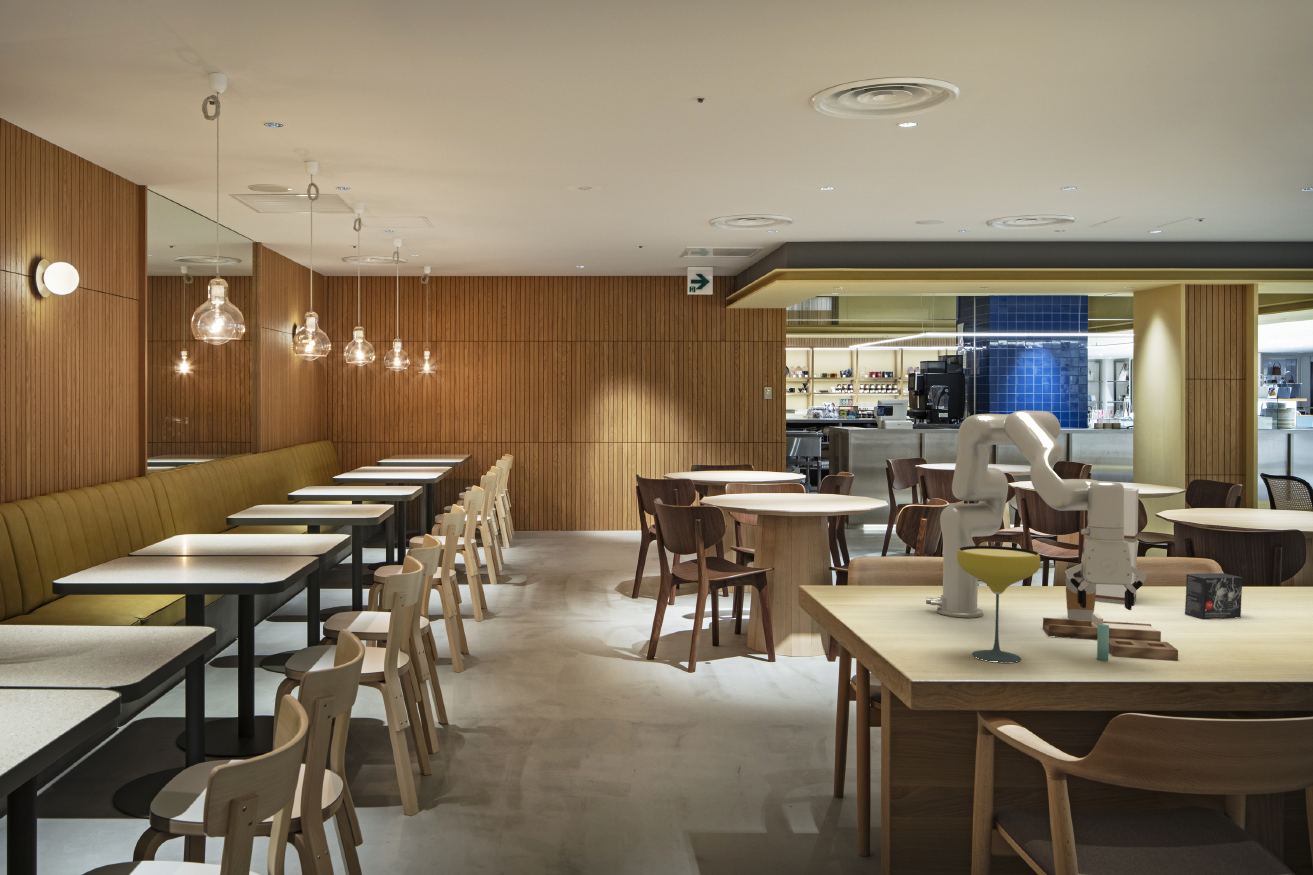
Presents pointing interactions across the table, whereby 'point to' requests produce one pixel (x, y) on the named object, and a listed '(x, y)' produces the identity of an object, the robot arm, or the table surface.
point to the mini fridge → (1130, 535)
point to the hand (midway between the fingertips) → (1105, 607)
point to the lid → (1099, 620)
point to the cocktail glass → (998, 580)
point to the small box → (1213, 595)
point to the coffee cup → (1071, 597)
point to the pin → (1103, 642)
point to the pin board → (1142, 649)
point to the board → (1095, 630)
